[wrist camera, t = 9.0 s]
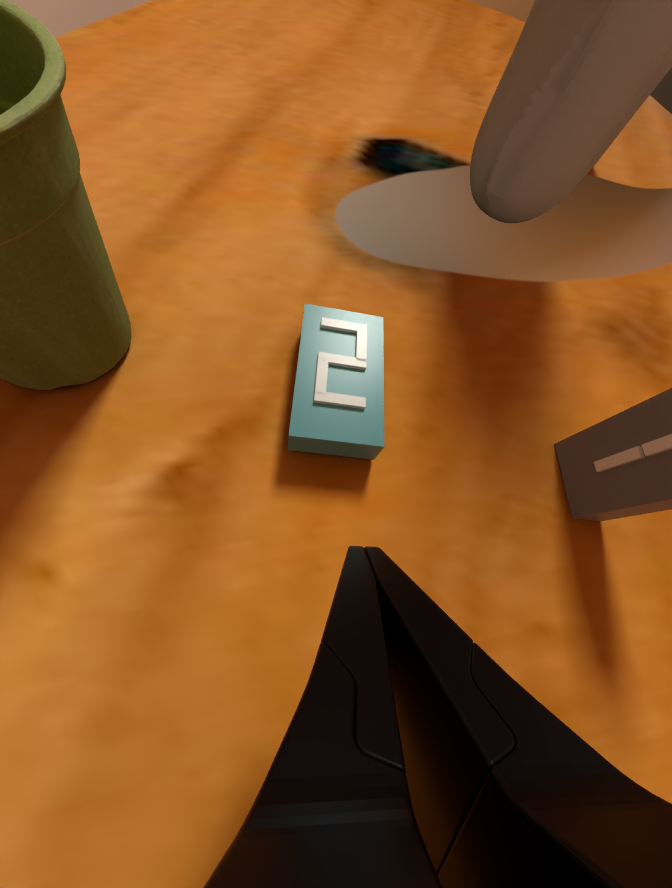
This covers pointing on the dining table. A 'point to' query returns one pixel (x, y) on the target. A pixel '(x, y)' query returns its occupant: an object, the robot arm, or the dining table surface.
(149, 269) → the dining table surface
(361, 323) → the tile
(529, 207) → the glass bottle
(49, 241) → the plant pot
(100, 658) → the dining table surface
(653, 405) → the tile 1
